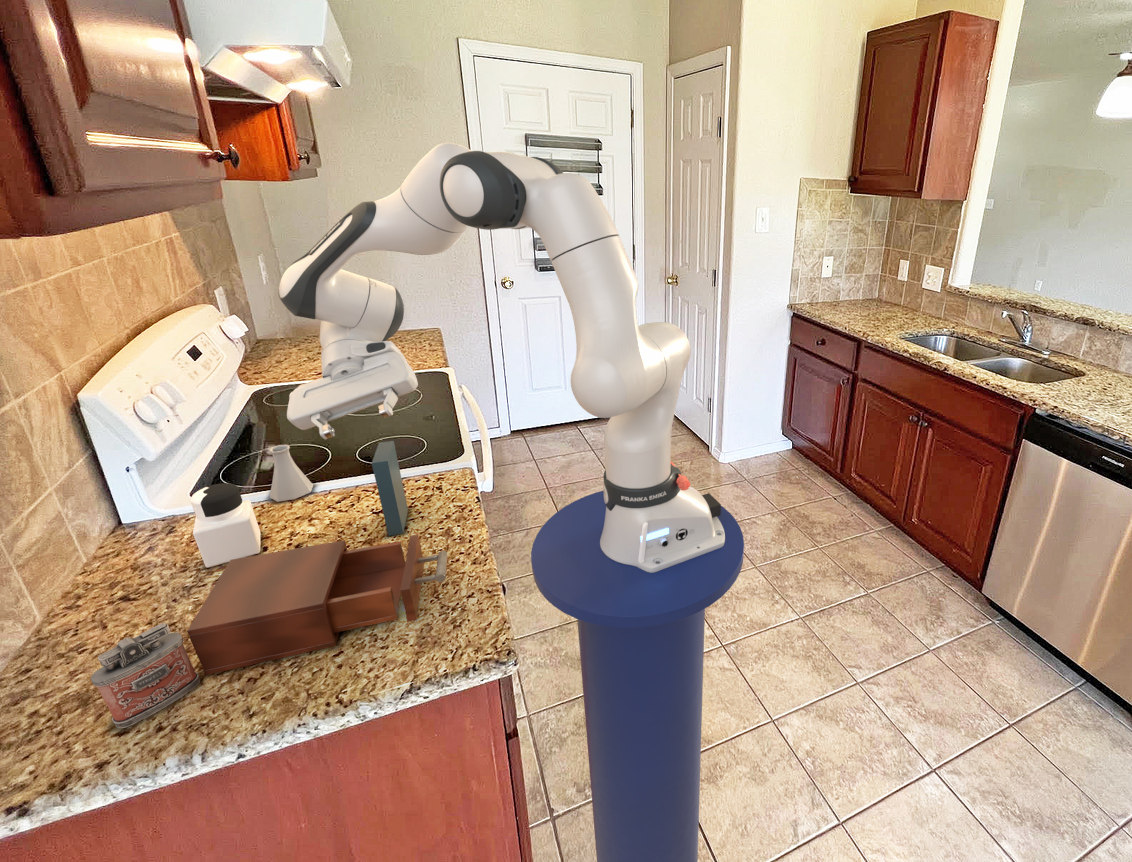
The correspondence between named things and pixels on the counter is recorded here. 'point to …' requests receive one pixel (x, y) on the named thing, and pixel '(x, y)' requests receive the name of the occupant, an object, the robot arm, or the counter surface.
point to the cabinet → (267, 608)
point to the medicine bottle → (224, 524)
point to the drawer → (379, 584)
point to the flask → (287, 476)
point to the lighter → (144, 675)
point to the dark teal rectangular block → (390, 487)
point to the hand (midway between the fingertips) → (357, 425)
